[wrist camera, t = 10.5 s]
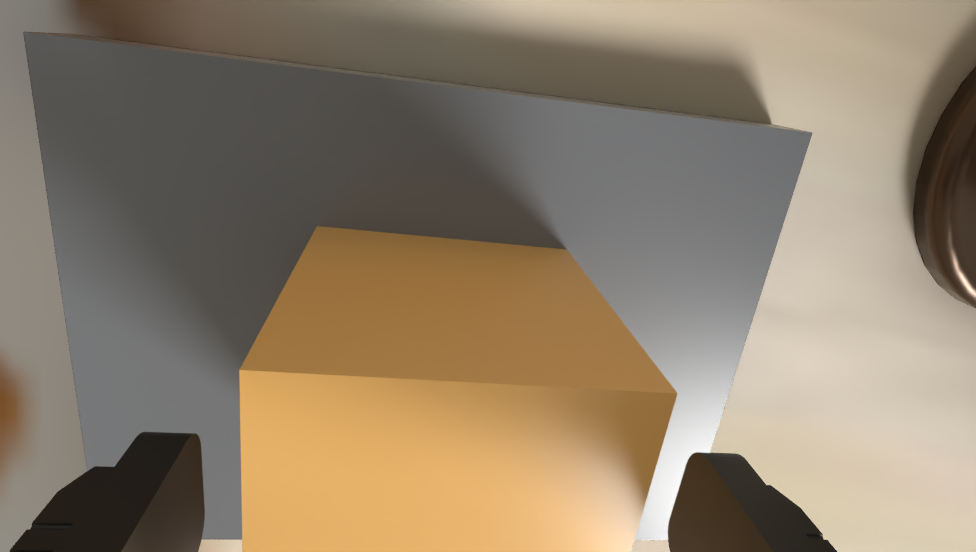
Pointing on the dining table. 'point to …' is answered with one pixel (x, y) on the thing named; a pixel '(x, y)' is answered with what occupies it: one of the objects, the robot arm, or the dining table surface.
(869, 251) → the dining table surface
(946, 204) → the candlestick
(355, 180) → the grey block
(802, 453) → the dining table surface
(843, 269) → the dining table surface
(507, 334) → the peach colored cube
